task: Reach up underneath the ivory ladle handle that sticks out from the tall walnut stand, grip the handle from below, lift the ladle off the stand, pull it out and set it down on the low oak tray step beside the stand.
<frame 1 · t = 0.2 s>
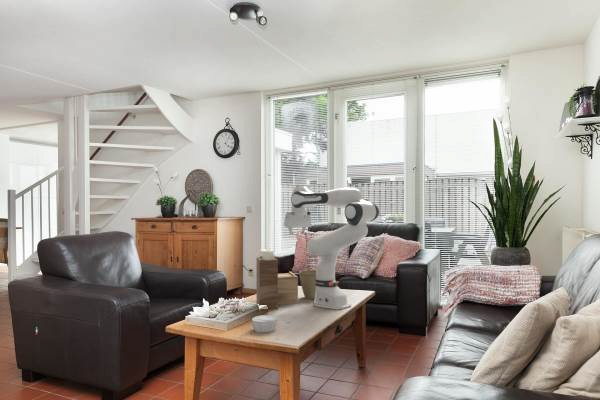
hand: (296, 234, 260), 39 cm above the table, fingers open, 8 cm apart
stand: (266, 306, 236), on the table
ramekin: (264, 330, 192), on the table
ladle: (265, 257, 241), point 27 cm above the table, touching stand
plant pot: (311, 297, 260), on the table
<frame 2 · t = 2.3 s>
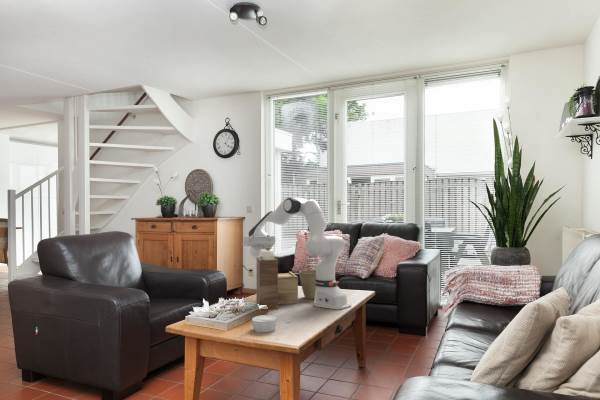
hand: (260, 235, 261), 38 cm above the table, fingers open, 8 cm apart
nothing on the table moved.
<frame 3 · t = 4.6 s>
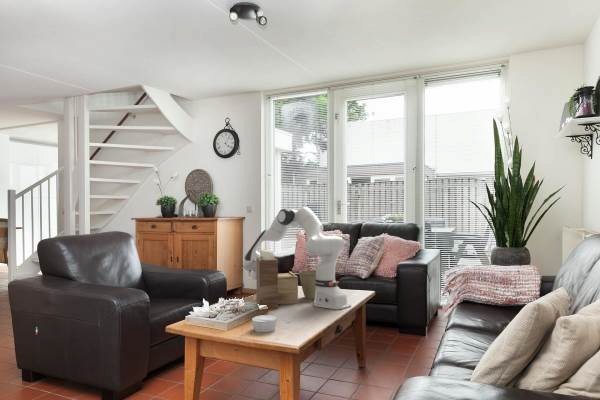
hand: (261, 259, 258), 24 cm above the table, fingers open, 8 cm apart
nothing on the table moved.
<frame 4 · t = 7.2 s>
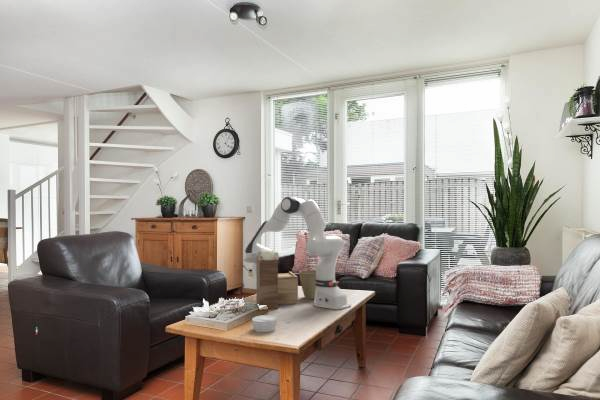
hand: (263, 251, 249), 29 cm above the table, fingers closed on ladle, 3 cm apart
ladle: (265, 257, 241), point 27 cm above the table, touching gripper, stand
everything else where it was.
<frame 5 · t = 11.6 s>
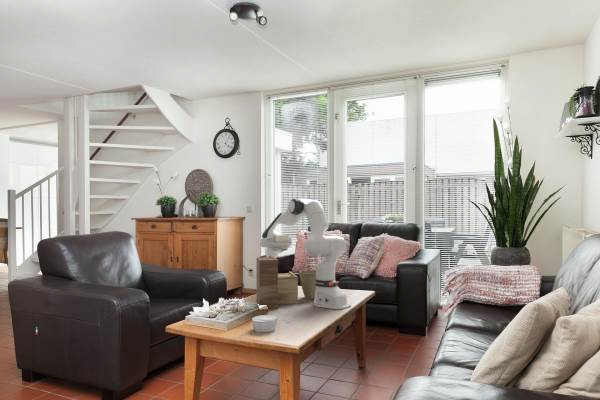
hand: (277, 236, 268), 37 cm above the table, fingers closed on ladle, 3 cm apart
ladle: (280, 241, 260), point 35 cm above the table, touching gripper
everything else where it was.
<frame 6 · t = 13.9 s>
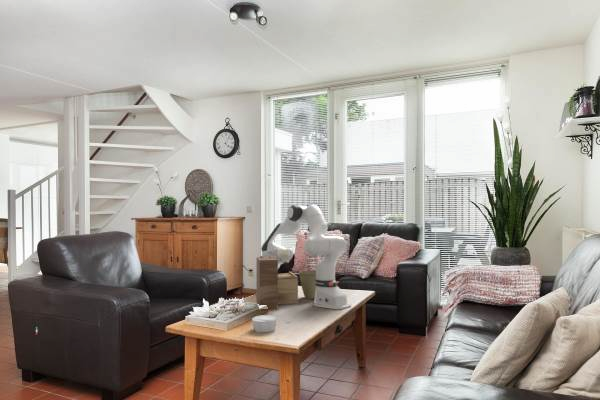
hand: (279, 250, 269), 28 cm above the table, fingers closed on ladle, 3 cm apart
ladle: (281, 255, 260), point 26 cm above the table, touching gripper
everything else where it was.
when the fingers open (20 cm above the table, at t = 16.1 s): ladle drops 4 cm, resting on stand.
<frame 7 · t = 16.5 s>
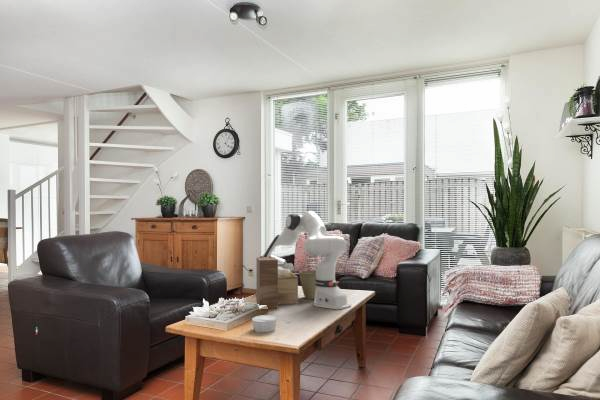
hand: (279, 263, 269), 20 cm above the table, fingers open, 7 cm apart
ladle: (281, 274, 260), point 14 cm above the table, touching stand
everything else where it was.
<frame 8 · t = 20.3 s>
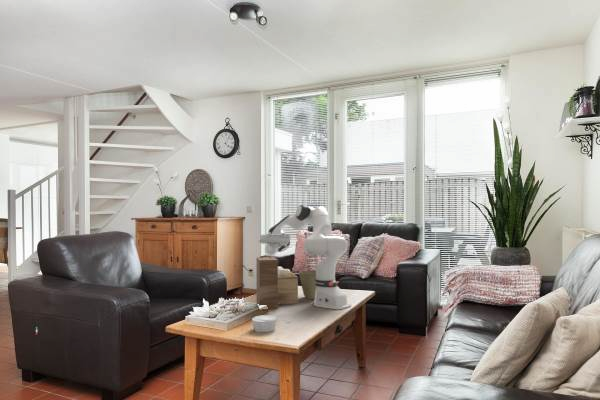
hand: (276, 233, 277), 38 cm above the table, fingers open, 8 cm apart
nothing on the table moved.
at the end: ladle inside the target area (0.6 cm from its centre), point 14.0 cm above the table; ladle touching stand; the gripper is holding nothing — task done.
